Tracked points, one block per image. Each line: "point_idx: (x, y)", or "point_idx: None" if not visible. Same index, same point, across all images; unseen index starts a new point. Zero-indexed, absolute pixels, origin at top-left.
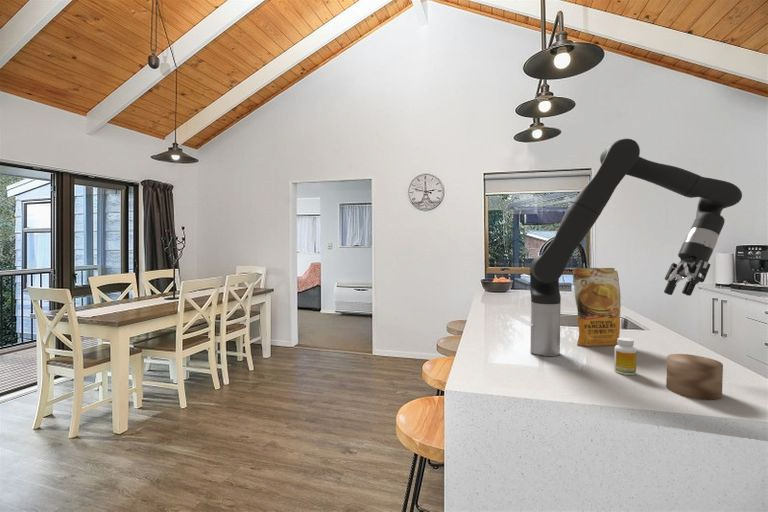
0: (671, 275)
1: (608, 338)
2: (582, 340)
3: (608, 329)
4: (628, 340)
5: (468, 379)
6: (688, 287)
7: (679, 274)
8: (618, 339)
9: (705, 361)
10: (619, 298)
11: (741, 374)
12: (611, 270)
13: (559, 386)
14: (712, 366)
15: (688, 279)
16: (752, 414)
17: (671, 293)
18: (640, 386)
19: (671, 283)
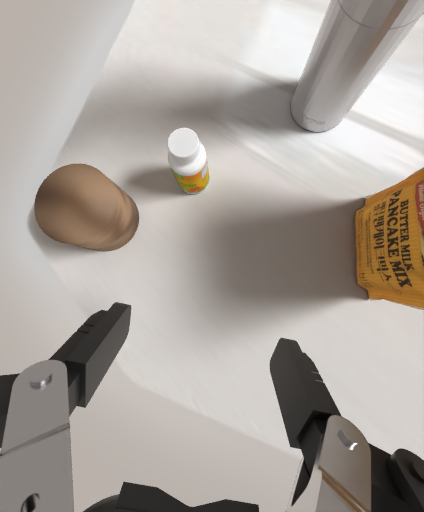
0: (366, 504)
1: (365, 258)
2: (371, 203)
3: (384, 256)
4: (171, 140)
5: None
6: (80, 328)
7: (234, 506)
8: (186, 128)
9: (64, 217)
10: None
11: (153, 369)
12: None
13: (156, 55)
14: (40, 204)
15: (46, 367)
16: (34, 226)
17: (273, 369)
18: (137, 161)
19: (302, 414)
